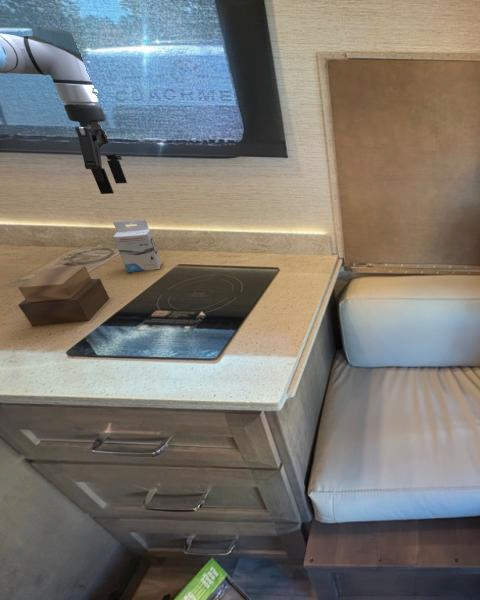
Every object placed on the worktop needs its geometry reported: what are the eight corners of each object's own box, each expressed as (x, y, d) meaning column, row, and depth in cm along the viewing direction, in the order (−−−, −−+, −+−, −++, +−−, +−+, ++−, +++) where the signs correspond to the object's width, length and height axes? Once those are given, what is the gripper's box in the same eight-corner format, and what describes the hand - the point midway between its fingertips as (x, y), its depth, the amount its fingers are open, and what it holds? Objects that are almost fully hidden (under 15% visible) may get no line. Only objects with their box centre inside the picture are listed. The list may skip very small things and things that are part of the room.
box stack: (32, 326, 77) (7, 289, 72) (59, 302, 86) (39, 267, 81) (88, 320, 80) (68, 284, 74) (109, 298, 89) (93, 264, 83)
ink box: (127, 273, 101) (107, 226, 93) (130, 266, 105) (111, 221, 97) (160, 269, 104) (143, 223, 96) (162, 262, 108) (146, 218, 100)
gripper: (81, 106, 77) (118, 197, 88) (114, 103, 97) (140, 178, 108) (40, 104, 75) (82, 199, 86) (81, 102, 94) (112, 179, 105)
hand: (115, 188), depth 97 cm, fingers open, 13 cm apart
